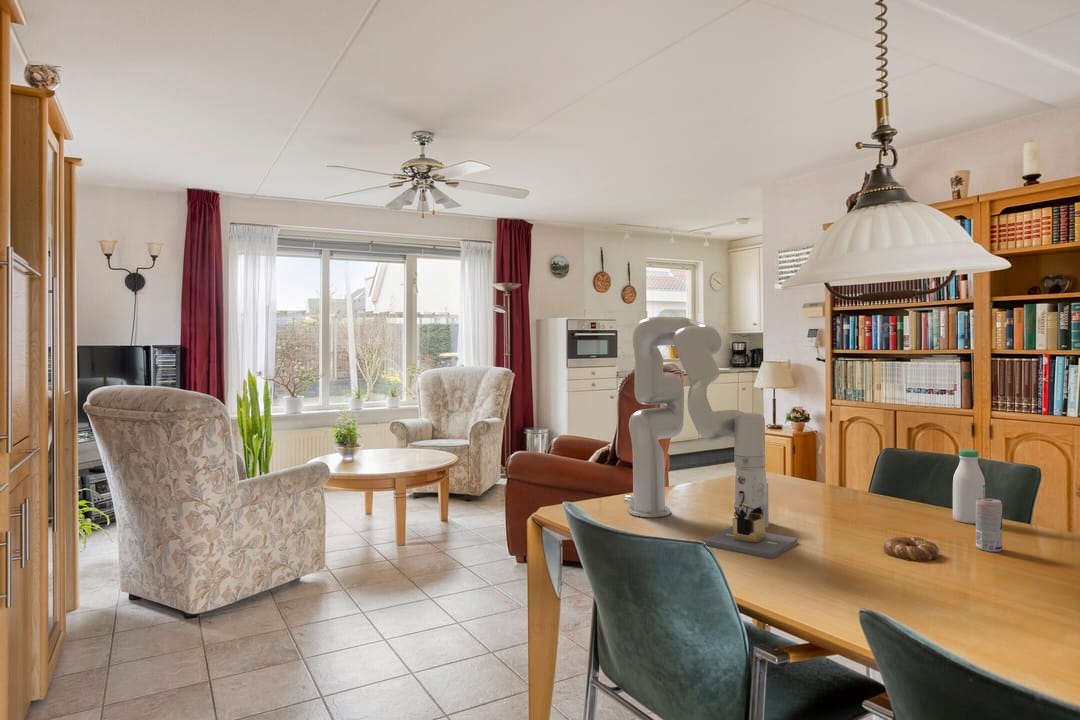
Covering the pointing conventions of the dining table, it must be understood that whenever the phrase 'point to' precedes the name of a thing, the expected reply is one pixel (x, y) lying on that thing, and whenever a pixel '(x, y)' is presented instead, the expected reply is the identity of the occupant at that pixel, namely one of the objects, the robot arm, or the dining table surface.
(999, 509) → the energy drink
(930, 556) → the pretzel
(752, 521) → the tan boxy piece
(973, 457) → the milk bottle
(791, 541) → the post base
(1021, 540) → the dining table surface
